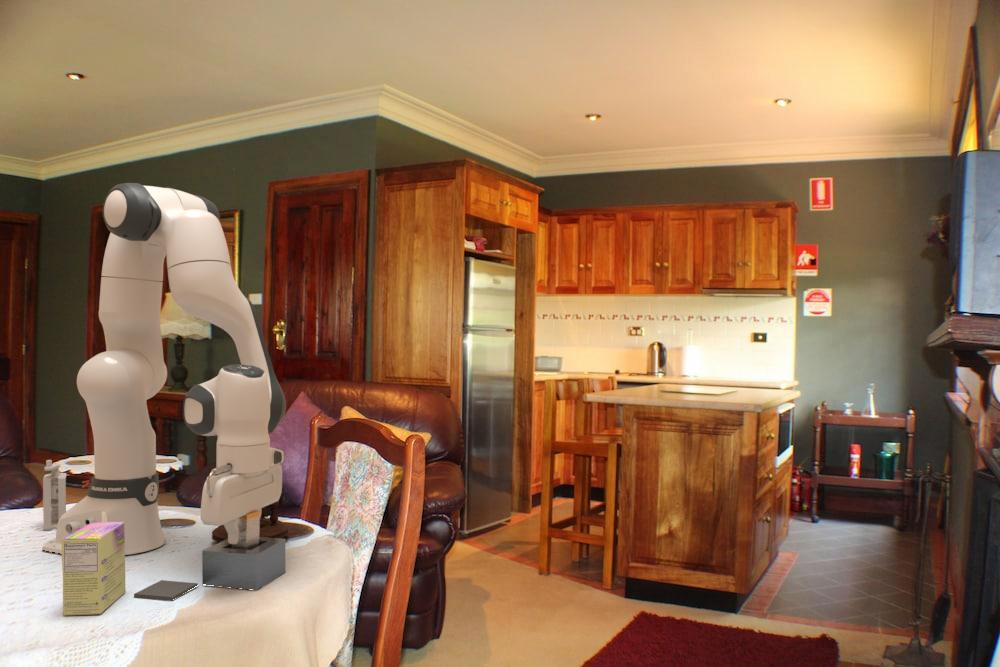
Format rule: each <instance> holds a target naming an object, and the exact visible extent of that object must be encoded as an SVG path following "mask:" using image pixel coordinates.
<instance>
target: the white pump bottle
mask: <svg viewBox="0 0 1000 667" xmlns="http://www.w3.org/2000/svg"><path fill="white" fill-rule="evenodd" d="M60 467H61V464H60V463H53V461H52V459H46V460H45V466H44V467H43V468H44V469H43V470H44V471H46V472H49V471H50V473H48V474H44V476H43V479H42V489H43V490H42V495H43V496H42V504H43V505H42V506H43V509H42V511H43V513H42V514H43V515H42V516H43V531H44V530H46V531H51V530H53V529H54V528H57V525H58V521H59V519H60V517H61V516H62V515H63V514H64V513H65V512H67V486H66V485H67V483H66V482H67V473H66V472H61V471H60V469H59V468H60ZM54 530H55V529H54Z"/></svg>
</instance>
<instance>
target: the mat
mask: <svg viewBox="0 0 1000 667" xmlns="http://www.w3.org/2000/svg"><path fill="white" fill-rule="evenodd" d="M197 585H198V586H199V583H198V582H189V581H188V582H186V581H185V582H184V581H176V580H163V579H162V580H159V581H157V582H155V583H153V584H151V585H149V586H146V587H145V588H143V589H141V590H139V591H137V592H135V593H134V594H133V598H137V599H146V598H147V600H156V599H158V600H159V601H167V600H173V599H175V598H177V597H178V596H180V595H182V594H183V593H185V592H187V591H188V590H190V589H192V588H194V587H195V586H197ZM182 596H183V595H182ZM180 597H181V596H180ZM177 599H178V598H177ZM175 600H176V599H175ZM173 601H174V600H173Z"/></svg>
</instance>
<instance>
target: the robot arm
mask: <svg viewBox="0 0 1000 667" xmlns="http://www.w3.org/2000/svg"><path fill="white" fill-rule="evenodd" d="M102 217H103V221H104V224H105V226H106V228H107V230H108V231H109V232H110V233H109V236H108V239H107V243H106V247H105V250H104V255H103V260H102V261H103V262H102V268H101V278H100V290H99V291H100V292H99V303H98V304H99V305H98V308H99V309H98V319H99V322H100V323H101V326H102V329H103V334H104V340H105V350H106V351H103V352H102V351H101V352H99V353H97V354H96V355H94V356H93V357H91V358H90V359H88V360H87V361H85V363H83V364H82V366H81V367H80V369H79V370H78V373H77V377H76V386H77V390H78V393H79V395H80V396H81V397H82V400H84V401H85V404H86V408H87V413H88V418H89V421H90V425H91V430H92V435H93V437H92V438H93V449H94V450H93V451H94V452H93V455H94V457H93V458H94V464H93V466H94V475H93V477H91V478H90V479H87V480H85V481H82V482H81V483H82V484H84V485H82V486H81V487H82V488H86V487H88V488H87V491H86V495H85V497H83V498H82V499H81V500H79V501H78V502H77V503H75V504H74V505H73V506H72V507H71V508H70V509H68V510H66V512H65V513H64V514H63V515H62V516H61V517H60V519H59V521H58V525H57V529H56V530H55V537H54V538H52V539H50V540H48V541H46V542H45V543H44V544H43V545H42V547H41V551H42V550H45V551H44V552H46V551H49V552H48V553H52V552H55V553H54V554H58V553H60V554H59V555H62V539H64V538H66V537H68V536H69V535H71V534H73V533H75V532H76V531H78V530H80V529H81V528H83V527H85V526H87V525H88V524H90V523H103V522H124V534H125V556H127V555H129V556H130V555H135V554H139V553H144V552H148V551H152V550H155V549H158V548H159V547H162V546H163V545H164V544H165V543H166V539H165V536H164V534H163V531H162V530H163V529H162V526H161V519H160V514H159V505H158V497H159V490H160V488H159V486H160V485H159V484H160V483H159V473H158V472H157V443H156V442H157V435H156V432H155V430H154V429H153V426H152V423H151V419H150V414H149V410H148V405H147V400H149V399H151V398H153V397H154V396H156V394H158V393H159V392H160V391H161V390H162V388H163V387H164V385H165V384H166V381H167V378H168V368H167V365H166V363H165V360H164V349H163V348H164V347H163V339H162V332H161V330H162V329H161V312H162V310H161V309H162V297H163V285H164V284H163V281H164V263H165V258H166V268H167V278H168V285H169V290H170V294H171V296H172V299H173V301H174V302H175V304H176V305H177V306H178V307H180V309H182V311H184V312H185V313H187V314H188V315H191V317H194V318H197V319H199V320H201V321H205V322H208V323H210V324H212V325H215V326H216V327H218V328H220V329H221V330H224V332H226V333H227V334H228V335H229V336H230V337H231V339H232V340H233V342H234V344H235V347H236V351H237V354H238V358H239V361H240V364H239V363H238V364H235V363H234V364H228V365H226V366H223V367H222V368H220V370H219V372H218V374H217V376H215V377H213V378H211V379H210V380H206V381H205V382H202V383H199V384H195V385H194V386H192V387H191V388H190V389H189V390H188V391H187V393H186V395H185V396H184V399H183V402H182V416H183V417H182V418H183V422H184V424H185V425H186V427H188V429H189V430H190V431H191V432H192V433H194V434H195V435H198V436H203V437H211V436H213V437H215V436H217V440H216V453H215V454H216V467H213V468H212V469H211V472H210V473H209V475H208V476H207V477H206V480H205V481H204V485H203V488H202V493H201V494H202V495H201V501H200V516H199V517H200V520H201V522H202V524H203V525H206V526H215V527H219V526H221V525H223V524H224V527H225V529H226V531H227V533H228V542H229V543H230V544H237V543H239V542H241V541H242V532H239V529H238V526H237V524H239V518H240V517H242V516H244V515H246V514H248V513H251V512H253V511H255V510H257V511H260V517H261V511H262V508H263V507H265V506H268V505H270V504H272V503H275V502H277V501H279V500H280V498H281V495H282V489H283V467H282V463H283V462H284V459H285V457H284V456H285V455H284V454H285V453H284V451H283V450H281V449H277V448H274V447H272V446H271V439H270V435H269V433H271V432H272V431H273V430H274V429H276V427H277V426H279V424H280V423H281V422H282V419H283V418H284V416H285V414H286V410H287V401H286V396H285V394H284V392H283V389H282V387H281V385H280V383H279V381H278V380H279V379H277V376H276V374H275V371H274V368H273V367H274V366H273V364H272V361H271V360H272V359H271V357H270V352H269V351H268V346H267V343H266V339H265V337H264V333H263V329H262V326H261V322H260V320H259V315H258V314H257V311H256V308H255V307H254V304H253V302H252V301H251V299H249V298H248V297H247V296H245V295H244V294H243V292H242V291H241V289H240V288H239V286H238V284H237V283H236V280H235V278H234V274H233V270H232V264H231V257H230V252H229V248H228V242H227V239H226V236H225V232H224V230H223V227H222V224H221V217H220V212H219V209H218V207H217V205H216V204H215V203H214V202H213V201H211V200H209V199H208V198H205V197H203V196H201V195H199V194H191V193H189V192H185V191H183V190H179V189H175V188H172V187H161V186H153V185H143V184H141V183H139V182H124V183H118V184H116V185H114V186H113V187H112V188H111V189H110V190H109V191H108V193H107V194H106V196H105V198H104V201H103V204H102Z"/></svg>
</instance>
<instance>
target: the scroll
mask: <svg viewBox="0 0 1000 667" xmlns="http://www.w3.org/2000/svg"><path fill="white" fill-rule="evenodd" d="M279 504H280V502H279V500H278V501H277V502H275V503H272V504H270V505H268V506H265V507H263V508H262V511H261V517H260V529H259V537H267V538H281V539H284V537H286V536H288V534H289V526H288V524H286V523H284V522H283V521H281V520H280V519H279V516H278V513H277V511H278V510H279V509H278V508H277V507H278V506H279ZM211 539H212V540H213V541H214V542H215V544H218V543H220V542H222V541H224V540H226V539H228V533H227V531H226V529H225V527H224V524H223V525H221V526H216V528H214V529H213V530H212V532H211Z"/></svg>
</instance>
